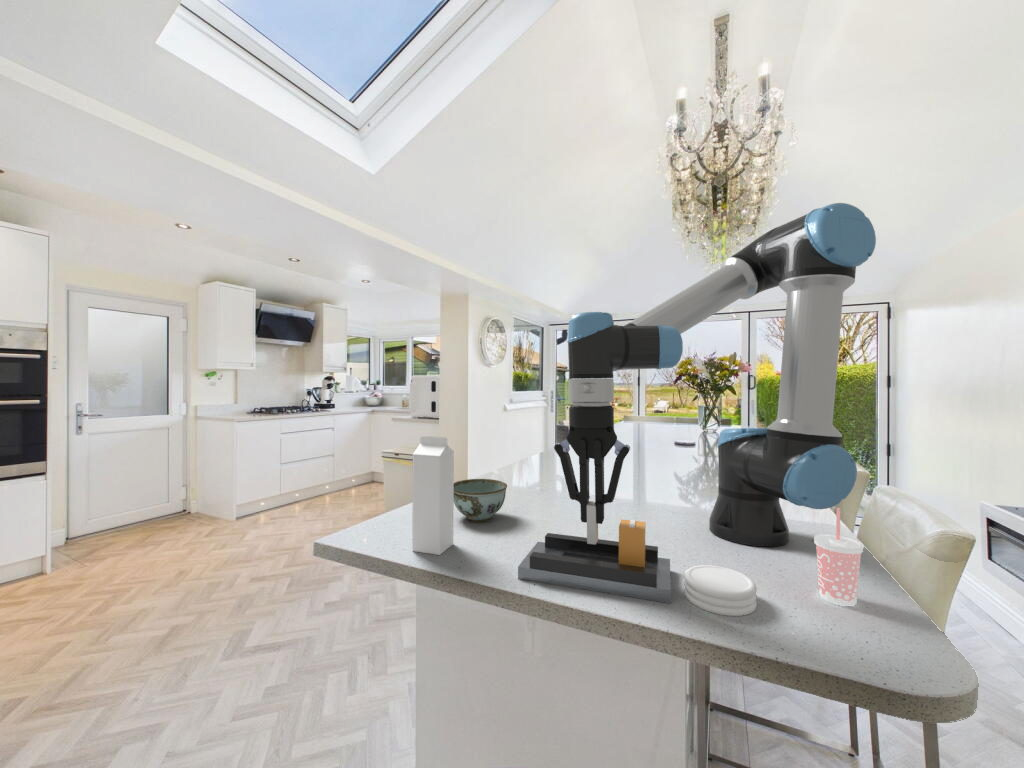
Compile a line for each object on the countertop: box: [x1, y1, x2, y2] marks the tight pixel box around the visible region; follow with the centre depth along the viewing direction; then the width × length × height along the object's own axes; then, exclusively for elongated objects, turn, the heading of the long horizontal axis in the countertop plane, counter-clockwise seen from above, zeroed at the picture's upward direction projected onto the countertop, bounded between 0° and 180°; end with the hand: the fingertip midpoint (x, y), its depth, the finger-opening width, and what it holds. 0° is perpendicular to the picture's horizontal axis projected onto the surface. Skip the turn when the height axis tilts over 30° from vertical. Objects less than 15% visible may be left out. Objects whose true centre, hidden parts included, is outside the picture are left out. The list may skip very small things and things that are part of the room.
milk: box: [411, 435, 455, 556], centre depth 86 cm, size 6×6×22 cm
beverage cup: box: [813, 507, 865, 605], centre depth 67 cm, size 6×6×14 cm
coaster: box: [683, 564, 758, 617], centre depth 67 cm, size 10×10×4 cm
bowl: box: [454, 478, 508, 523], centre depth 105 cm, size 14×13×8 cm
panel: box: [517, 532, 672, 604], centre depth 75 cm, size 24×12×4 cm, turn 71°
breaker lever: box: [618, 518, 646, 567], centre depth 73 cm, size 4×4×7 cm
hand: (592, 541), depth 75 cm, fingers closed
